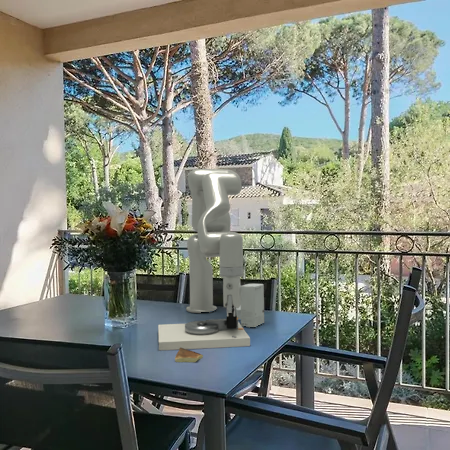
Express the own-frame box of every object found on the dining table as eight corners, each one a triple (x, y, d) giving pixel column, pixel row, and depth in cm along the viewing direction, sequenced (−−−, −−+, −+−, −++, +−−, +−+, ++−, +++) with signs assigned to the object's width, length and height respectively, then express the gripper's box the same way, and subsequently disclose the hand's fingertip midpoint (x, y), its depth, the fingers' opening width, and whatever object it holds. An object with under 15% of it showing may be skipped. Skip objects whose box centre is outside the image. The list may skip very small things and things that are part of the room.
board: (158, 331, 169) (158, 323, 169) (238, 328, 173) (238, 320, 173) (158, 350, 147) (158, 341, 147) (250, 346, 151) (250, 337, 151)
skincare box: (254, 328, 173) (254, 286, 172) (239, 326, 176) (239, 285, 175) (264, 323, 180) (264, 283, 179) (250, 321, 183) (250, 282, 182)
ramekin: (260, 319, 186) (259, 308, 186) (239, 322, 183) (239, 310, 183) (249, 315, 195) (249, 304, 194) (229, 317, 191) (229, 306, 191)
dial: (186, 335, 154) (186, 323, 154) (183, 326, 165) (183, 315, 164) (240, 332, 157) (240, 321, 157) (234, 324, 168) (234, 313, 167)
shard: (180, 352, 147) (180, 346, 147) (205, 352, 147) (205, 346, 147) (173, 363, 137) (173, 357, 136) (201, 364, 136) (201, 357, 136)
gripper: (240, 275, 150) (241, 334, 151) (244, 269, 165) (245, 323, 166) (216, 274, 151) (217, 333, 152) (222, 268, 166) (223, 322, 166)
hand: (231, 328), depth 159 cm, fingers closed
